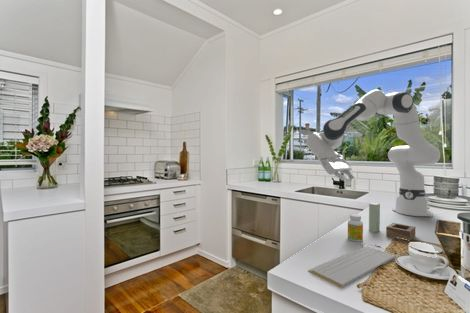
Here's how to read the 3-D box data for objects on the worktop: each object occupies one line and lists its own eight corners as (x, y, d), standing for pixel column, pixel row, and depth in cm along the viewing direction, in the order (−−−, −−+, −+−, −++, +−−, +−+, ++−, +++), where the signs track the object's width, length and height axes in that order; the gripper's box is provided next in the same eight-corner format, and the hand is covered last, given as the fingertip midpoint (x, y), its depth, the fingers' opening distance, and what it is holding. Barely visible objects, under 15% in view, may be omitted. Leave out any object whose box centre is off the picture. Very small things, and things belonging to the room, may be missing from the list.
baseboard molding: (304, 271, 71) (342, 290, 61) (304, 261, 70) (342, 279, 61) (359, 247, 88) (396, 260, 78) (359, 240, 88) (396, 251, 78)
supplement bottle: (348, 240, 94) (348, 216, 93) (347, 236, 99) (347, 213, 98) (363, 242, 92) (364, 217, 91) (361, 238, 97) (362, 214, 96)
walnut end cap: (393, 231, 105) (393, 222, 105) (415, 236, 99) (415, 226, 99) (386, 236, 99) (386, 226, 99) (409, 241, 93) (409, 231, 93)
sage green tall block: (372, 228, 109) (372, 202, 109) (379, 230, 106) (379, 203, 106) (368, 230, 106) (369, 203, 106) (376, 232, 104) (376, 204, 104)
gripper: (323, 153, 113) (343, 175, 106) (342, 154, 127) (361, 173, 119) (314, 162, 116) (333, 184, 109) (334, 162, 130) (352, 182, 123)
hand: (348, 179), depth 114 cm, fingers open, 8 cm apart
